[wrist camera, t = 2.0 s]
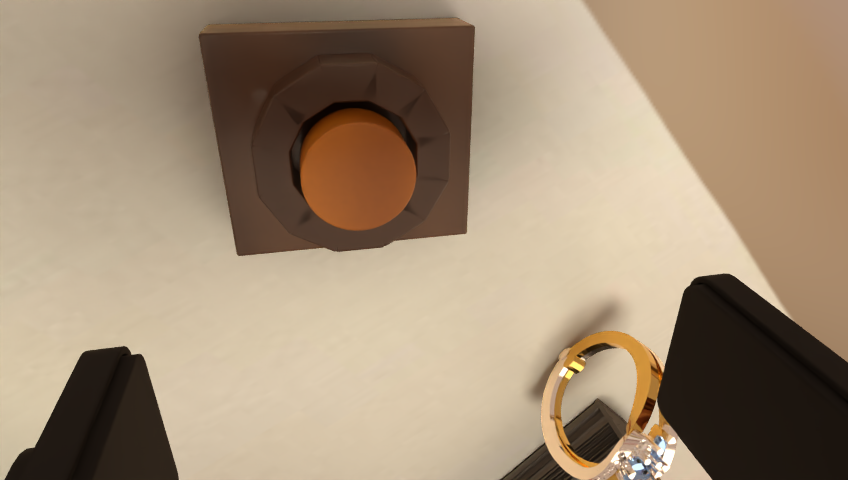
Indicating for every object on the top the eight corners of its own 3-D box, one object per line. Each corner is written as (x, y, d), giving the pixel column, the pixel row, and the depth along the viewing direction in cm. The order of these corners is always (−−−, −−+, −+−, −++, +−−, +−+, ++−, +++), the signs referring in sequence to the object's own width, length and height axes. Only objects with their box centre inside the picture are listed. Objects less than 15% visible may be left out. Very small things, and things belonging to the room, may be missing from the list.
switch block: (241, 230, 23) (233, 282, 20) (206, 24, 20) (188, 43, 16) (453, 211, 25) (480, 255, 22) (458, 17, 21) (492, 33, 18)
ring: (592, 293, 29) (689, 405, 22) (631, 319, 30) (733, 432, 23) (504, 388, 31) (567, 519, 24) (544, 408, 32) (615, 538, 25)
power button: (305, 213, 20) (306, 236, 18) (294, 110, 18) (294, 126, 17) (407, 204, 20) (417, 225, 19) (406, 104, 19) (416, 119, 17)
